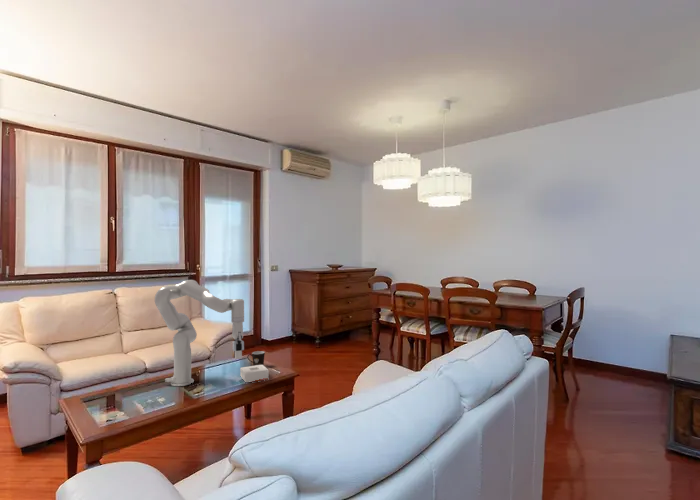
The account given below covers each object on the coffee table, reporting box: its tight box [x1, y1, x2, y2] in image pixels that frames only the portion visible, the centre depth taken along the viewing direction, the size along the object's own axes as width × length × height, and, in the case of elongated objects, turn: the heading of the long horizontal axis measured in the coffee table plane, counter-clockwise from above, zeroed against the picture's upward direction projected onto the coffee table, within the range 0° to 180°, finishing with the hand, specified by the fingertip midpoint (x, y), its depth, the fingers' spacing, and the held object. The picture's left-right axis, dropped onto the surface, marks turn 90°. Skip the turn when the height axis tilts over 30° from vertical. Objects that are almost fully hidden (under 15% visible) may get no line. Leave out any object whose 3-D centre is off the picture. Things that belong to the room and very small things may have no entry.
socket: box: [239, 364, 269, 383], centre depth 226 cm, size 14×14×6 cm
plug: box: [232, 339, 245, 360], centre depth 220 cm, size 6×4×10 cm, turn 118°
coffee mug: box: [246, 350, 266, 366], centre depth 252 cm, size 12×9×10 cm
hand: (238, 349), depth 220 cm, fingers closed on plug, 4 cm apart
